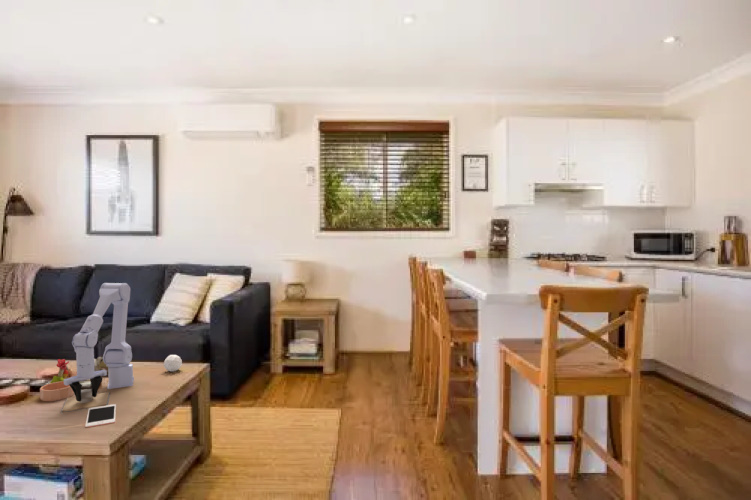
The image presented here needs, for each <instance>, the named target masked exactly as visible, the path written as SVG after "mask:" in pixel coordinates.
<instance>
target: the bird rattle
mask: <svg viewBox="0 0 751 500" xmlns="http://www.w3.org/2000/svg"><path fill="white" fill-rule="evenodd" d="M69 363H70V361H66V359H65V358H63V359H60V358H59V359H57V364H56V367H57V368H59V370H58V373H57V375H54V376H53V377H52V380H51V381H50V382H49V384H50V383H54V382H61V381H64V379H68V376H69V371H70V370H69V366H68V364H69Z"/></svg>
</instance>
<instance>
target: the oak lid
mask: <svg viewBox="0 0 751 500" xmlns="http://www.w3.org/2000/svg"><path fill="white" fill-rule="evenodd" d="M109 393H110V392H109V391H107V392H100V393H97V395H96V397H93V396H92V389H91V388H85V389H81V401H77V400H76V396H70V397H68V398H66V399H67V400H66V399H65V401H66V403H65V402H64V403H65V405H64V404H63V405H64V407H63V406H62V407H63V409H62V408H61V410H62V413H66V412H65V411H69V412H72V411H71V410H76V411H79V410H78V409H82V410H86V409H85V408H92V407H99V406H105V405H107V400H108V395H109Z"/></svg>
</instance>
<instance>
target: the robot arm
mask: <svg viewBox="0 0 751 500" xmlns="http://www.w3.org/2000/svg"><path fill="white" fill-rule="evenodd" d="M98 293H99V294H98V296H99V299H98V301H97V304H96V306H95V308H94V310H93V313H92V314H91V315H88V316H87V318H86V320H85V322H84V323H83V325H82V327H81V329H80V331H79V332H77V333H75V334H74V336H73V337H72V341H71V345H72V347H73V349H74V352H75V353H76V354H75V357H76V359H75V360H76V375H74V376H70V377H67V378H66V379H64V385H66V386H67V385H70V387H71V388H72V390H73V392H74V397H76V400H77V401H81V390H82V387H83V384H81V382H84V381H87V380H89V381H90V386H91V388H90V389H92V396H93V397H96V395H97V394H98V392H99V391H98V390H99V388H100V385H101V383H102V382H103V377H105V376H108V377H107V378H108V383H107V390H110V389H117V388H118V389H119V388H124V387H126V388H128V387H132V386H134V381H135V377H134V368H133V365H134V364H133V363H131V362H132V359H133V353H132V346H131V345H130V344H128V342H127V341H126V335H127V334H126V333H127V321H128V320H127V319H128V310H129V309H128V308H129V307H128V305H129V303H130V300H131V299H130V298H131V287H130V285H129V283H127V282H122V283H121V282H120V283H119V282H116V283H115V282H104V283H102V284H101V285H100V288H99V290H98ZM111 304H112V305H113V313H112V314H113V315H112V324H111V325H112V326H111V328H112V329H111V339H110V341H111V342H110V343H108V344H107V345H106V346H105V348H104V352H103V361H104V363H105V364H106V366H108V374H107V371H106V370H101V371H94V359H95V349H94V348H95V346H96V345H97V342H98V337H99V331H100V329H101V327H102V325H103V323H104V319H103V316H105V313H106V312H107V310H108V309H109V308H110V306H111Z"/></svg>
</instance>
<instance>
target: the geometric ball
mask: <svg viewBox="0 0 751 500" xmlns="http://www.w3.org/2000/svg"><path fill="white" fill-rule="evenodd" d="M182 363H183V361H182V359H181V356H179V355H177V354H169V355H168V356H167V357H166V358H165V360H164V361H163V367H164V368H165V370H167V372H177V371H178V370H179V369H180V368H181V366H182V365H183V364H182Z"/></svg>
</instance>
